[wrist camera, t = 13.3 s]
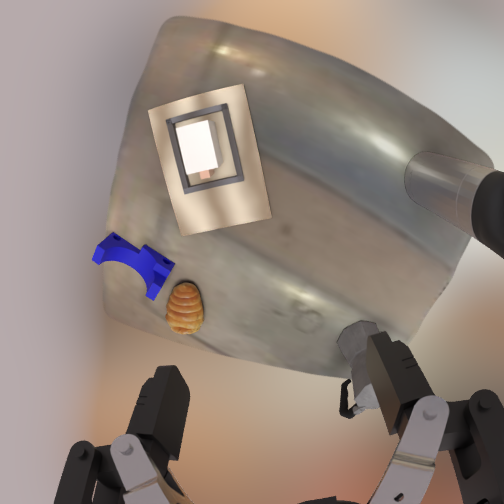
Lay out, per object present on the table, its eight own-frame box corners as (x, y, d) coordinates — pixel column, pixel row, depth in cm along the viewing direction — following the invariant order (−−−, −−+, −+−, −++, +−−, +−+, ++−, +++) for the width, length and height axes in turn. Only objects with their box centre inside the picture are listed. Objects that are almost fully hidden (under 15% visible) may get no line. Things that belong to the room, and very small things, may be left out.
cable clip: (175, 263, 46) (165, 280, 41) (163, 281, 48) (153, 300, 42) (116, 224, 43) (100, 237, 38) (107, 245, 45) (91, 259, 39)
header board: (243, 85, 35) (242, 81, 32) (271, 216, 43) (272, 221, 40) (150, 110, 36) (144, 109, 34) (183, 234, 44) (179, 239, 42)
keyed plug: (214, 121, 36) (207, 119, 30) (225, 169, 39) (220, 176, 33) (187, 128, 36) (175, 128, 31) (198, 175, 39) (188, 183, 34)
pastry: (168, 277, 47) (162, 288, 43) (207, 283, 47) (203, 295, 43) (168, 320, 50) (163, 332, 47) (203, 326, 51) (200, 340, 47)
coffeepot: (368, 304, 49) (404, 374, 33) (394, 325, 51) (429, 389, 35) (312, 355, 54) (327, 428, 38) (341, 370, 57) (360, 437, 40)
